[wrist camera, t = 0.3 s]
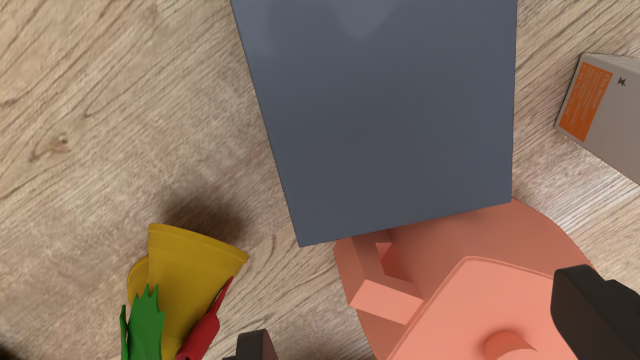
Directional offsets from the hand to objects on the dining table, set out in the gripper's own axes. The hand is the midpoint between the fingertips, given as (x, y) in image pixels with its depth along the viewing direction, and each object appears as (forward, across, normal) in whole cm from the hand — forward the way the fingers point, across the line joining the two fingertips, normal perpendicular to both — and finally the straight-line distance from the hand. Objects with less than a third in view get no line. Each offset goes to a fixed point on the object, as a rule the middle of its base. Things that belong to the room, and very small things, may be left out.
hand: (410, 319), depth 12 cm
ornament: (+21, +17, +15) cm, 31 cm away
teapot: (+21, -7, +15) cm, 27 cm away
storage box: (+21, -2, -1) cm, 21 cm away
